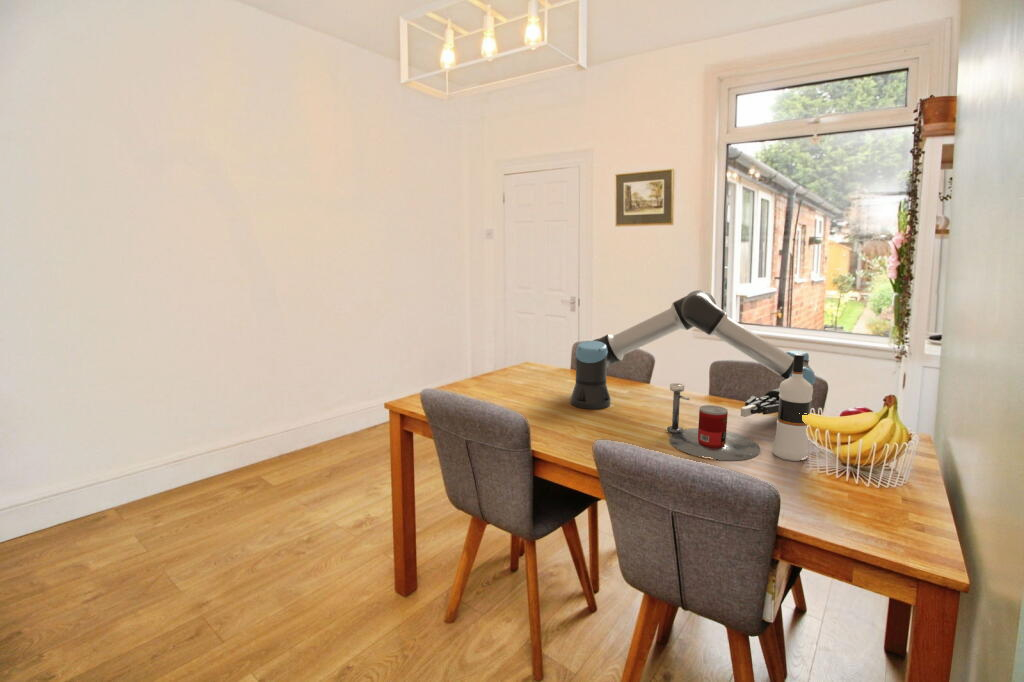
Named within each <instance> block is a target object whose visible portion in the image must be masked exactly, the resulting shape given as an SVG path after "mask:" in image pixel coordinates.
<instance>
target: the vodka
mask: <svg viewBox="0 0 1024 682" xmlns="http://www.w3.org/2000/svg"><path fill="white" fill-rule="evenodd" d="M803 364H804V355H803V354H794V361H793V372H792V377H790V378H788V379H786V380H784V381H783V380H782V381H781V382H780V384H779V387H778V388H779V390H780V394H779V408H778V412H777V419H776V421H775V422H776V430H775V437H774V442H773V444H772V449H771V450H772V453H773V455H774V456H776V457H777V458H779V459H782V460H785V461H790V462H801V461H800V460H801V459H802V458H804V457H806V456H808V454H809V453H810V451H809V436H808V437H807V435H806V428H807V425H806V424H805V423H804V422H803V421H802V415H808V414H811V407H812V406H811V405H812V401H813V393H814V387H813V386H812V385H811V384H810V383H809V382H808V381H806V380H805V379H804V378H803ZM799 413H800V414H799ZM804 413H807V414H804ZM809 455H810V454H809ZM808 457H809V456H808Z"/></svg>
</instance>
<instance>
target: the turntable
mask: <svg viewBox="0 0 1024 682" xmlns="http://www.w3.org/2000/svg"><path fill="white" fill-rule="evenodd" d="M669 440H670V441H669V443H670V442H671V443H670V444H671V446H672V447H674V446H675V447H676V448H678V449H679V450H678V449H677V450H678V451H680V450H682V451H684V452H686V453H685V454H687V453H688V454H687V455H690V454H691V455H690V456H693V455H695V456H694V457H696V456H700V457H702V456H704V457H711V458H713V459H718V460H717V461H721V460H723V461H726V462H737V461H744V460H745V461H746V460H750V459H753V458H755V457H757V456H758V455H759V454H760V453H761V447H760V445H759V444H758V443H757V442H756V441H754V440H753V439H751V438H750V437H747V436H745V435H742V434H740V433H736V432H733V431H728V430H726V443H725V445H724V446H723V447H720V448H712V447H706V446H703V445H701V444H700V443H699V442H698V428H697V427H695V428H693V427H692V428H686V429H683V432H682V433H673V434H672V433H671V434H670V436H669ZM675 447H674V448H675ZM676 448H675V449H676ZM682 451H681V452H682ZM684 452H683V453H684ZM700 457H699V458H700ZM723 461H722V462H723Z"/></svg>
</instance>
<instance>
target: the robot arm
mask: <svg viewBox="0 0 1024 682" xmlns="http://www.w3.org/2000/svg"><path fill="white" fill-rule="evenodd" d="M692 328H696V329H698V330H700V331H702V332H703V333H704V334H706V335H708V336H716V337H717V338H719V339H720V340H721V341H724V342H725V343H727V344H728V345H730V346H732V347H733V348H734V349H736V350H737V351H739V352H741V353H743V354H744V355H745V356H748V358H750V359H752V360H754V361H756V362H757V363H759V364H760V365H762V366H764V367H765V368H767V369H768V370H770V371H772V373H774V374H777V375H778V376H779V377H781V378H782V381H784V380H786V379H788V378H790V377H792V372H793V361H794V354H803V355H804V364H803V378H804V379H805V380H806V381H808V382H809V383H810V384H811V385H812V387H813V386H814V384H815V382H816V375H815V372H814V370H813V369H812V368H811V367H810V365H809V362H810V359H809V357H810V356H809V353H808V352H807V351H801V350H788V351H784V350H782V349H780V348H779V347H778V346H775V345H774V344H772V343H770V342H769V341H768V340H766V339H764V338H762V337H761V336H759V334H756V333H755V332H753V331H752V330H749V329H748V328H746V327H745V326H743V325H742V324H740V323H738V322H737V321H736V320H734V319H732V318H730V317H729V316H728V314H727V311H725V310H723V309H722V308H720V307H719V306H718V305H717V302H716V300H715V298H714V297H713V295H712V294H711V293H709V292H708V291H705V290H694V291H691V292H690V293H688V294H687V295H686V296H683V297H680V299H677V300H675V301H673V302H672V303H671V305H670V308H668V309H666V310H664V311H661V312H660V313H658V314H656V315H653V316H652V317H650V318H648V319H646V320H643V321H642V322H639V323H637V324H635V325H633V326H631V327H629V328H627V329H624V330H622V331H621V332H619V333H616V334H611V333H608V334H606V335H603V336H602V337H600V338H595V339H593V340H586V341H582V342H580V343H578V344H577V346H576V348H575V384H574V386H573V390H572V393H571V396H570V404H571V405H572V406H574V407H576V408H579V409H585V410H601V409H606V408H608V407H610V406H611V396H610V393H609V389H608V386H607V375H608V373H607V368H609V367H610V366H612V365H614V364H616V363H619V362H621V361H623V359H624V356H625V355H627V354H629V353H631V352H634V351H635V350H638V349H639V348H641V347H644V346H646V345H649V344H650V343H653V342H655V341H657V340H659V339H661V338H663V337H665V336H668V335H670V334H671V333H674V332H676V331H679V330H680V329H682V330H685V331H688V330H690V329H692ZM779 388H780V387H777V388H775V389H771V390H769V391H767V392H766V393H765V394H764V396H760V397H757V396H754V395H750V398H748V399H747V400H746V401H745V403H744V406H743V407H741V408H740V417H741V418H742V417H743V418H747V417H749V416H751V415H752V416H753V415H755V414H763V415H770V414H775V413H778V408H779V394H780V390H779Z"/></svg>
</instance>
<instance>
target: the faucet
mask: <svg viewBox="0 0 1024 682" xmlns="http://www.w3.org/2000/svg"><path fill="white" fill-rule="evenodd" d="M669 391H672V392H673V395H672V396H673V397H672V399H673V400H672V401H673V402H672V418H671V419H672V421H671V425H668V426H667V428H666V431H668V433H669V432H670V433H669V434H672V433H682V432H683V430H684V428H683V427H681V426H679V425H680V422H679V420H680V405H681V404H680V403H681V399H682V400H686V401H690V400H691V399H690V397H688V396H687V397H686V396H683V395H681V393H683V392H685V384H683V383H678V382H677V383H670V385H669Z"/></svg>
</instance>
